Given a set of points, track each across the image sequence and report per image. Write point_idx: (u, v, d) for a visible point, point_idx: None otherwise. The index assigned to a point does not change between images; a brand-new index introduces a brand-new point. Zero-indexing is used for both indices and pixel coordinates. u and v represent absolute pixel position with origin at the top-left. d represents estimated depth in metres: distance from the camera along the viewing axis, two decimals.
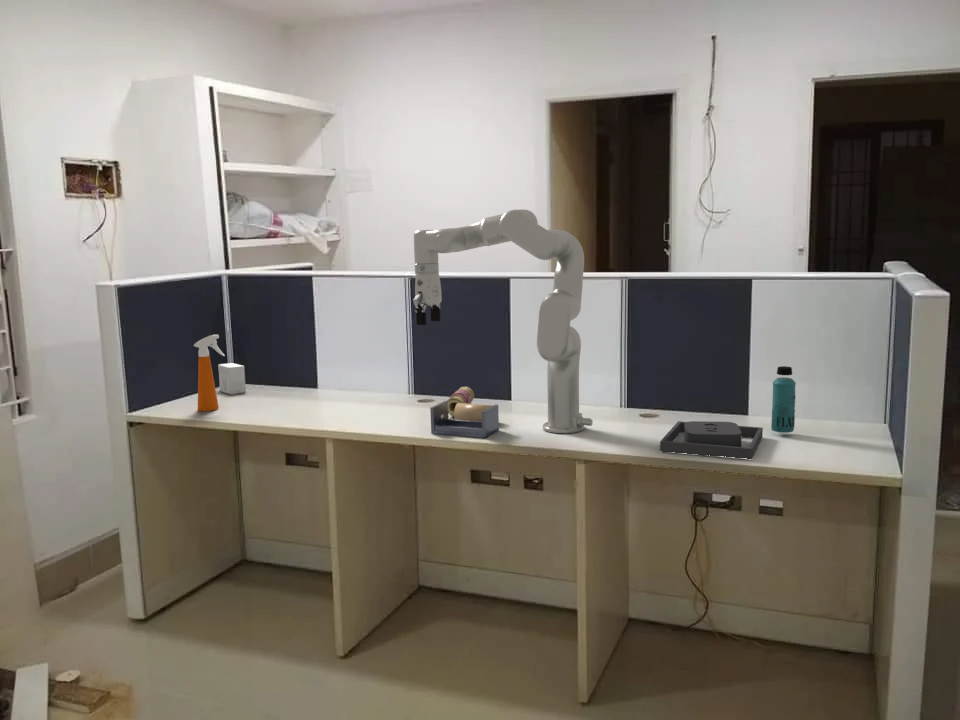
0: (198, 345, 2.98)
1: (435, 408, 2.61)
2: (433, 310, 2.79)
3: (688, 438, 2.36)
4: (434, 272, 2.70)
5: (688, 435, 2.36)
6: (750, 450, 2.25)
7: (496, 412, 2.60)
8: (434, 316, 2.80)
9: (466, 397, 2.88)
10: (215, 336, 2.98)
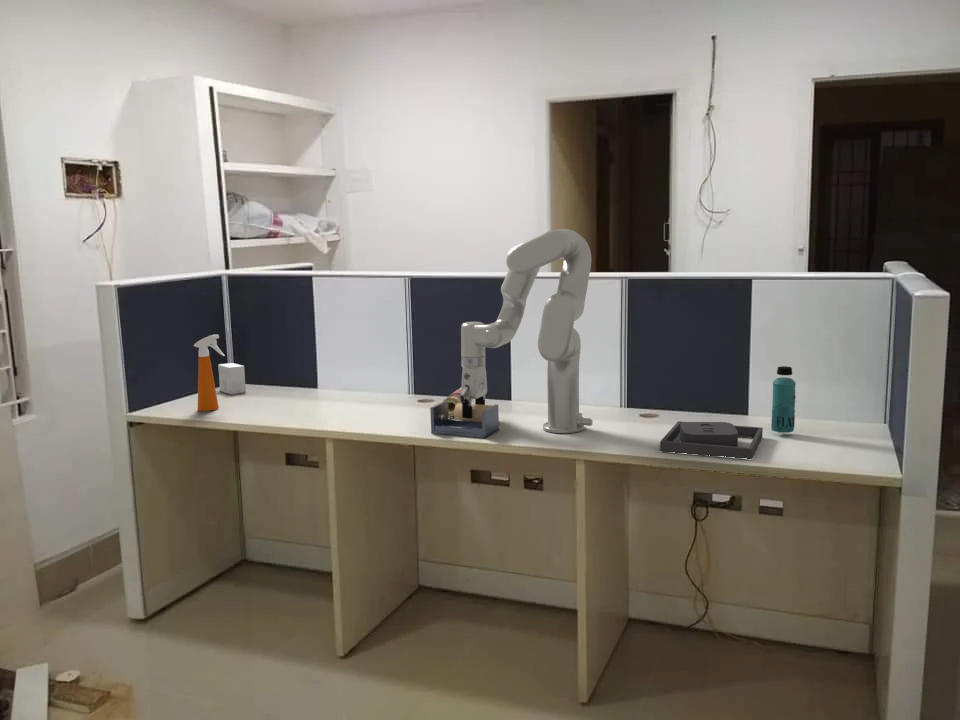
0: (198, 345, 2.98)
1: (435, 408, 2.61)
2: (478, 400, 2.77)
3: (685, 439, 2.36)
4: (481, 365, 2.68)
5: (685, 436, 2.35)
6: (750, 450, 2.25)
7: (496, 412, 2.60)
8: None
9: None
10: (215, 336, 2.98)
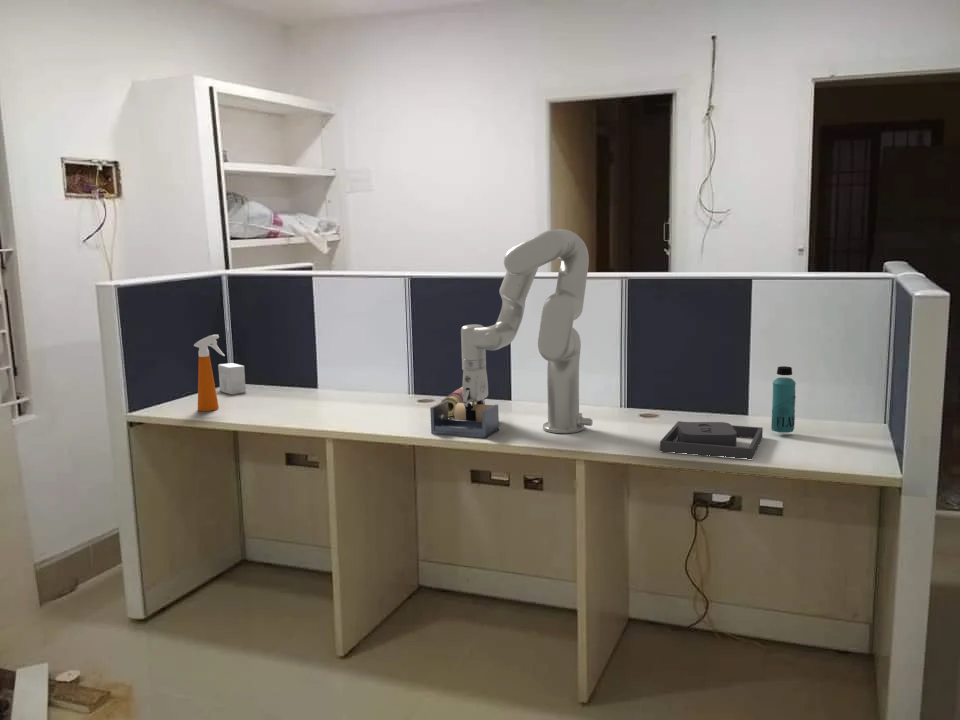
0: (198, 345, 2.98)
1: (435, 408, 2.61)
2: None
3: (684, 439, 2.35)
4: (482, 368, 2.68)
5: (684, 436, 2.35)
6: (750, 450, 2.25)
7: (496, 412, 2.60)
8: None
9: None
10: (215, 336, 2.98)
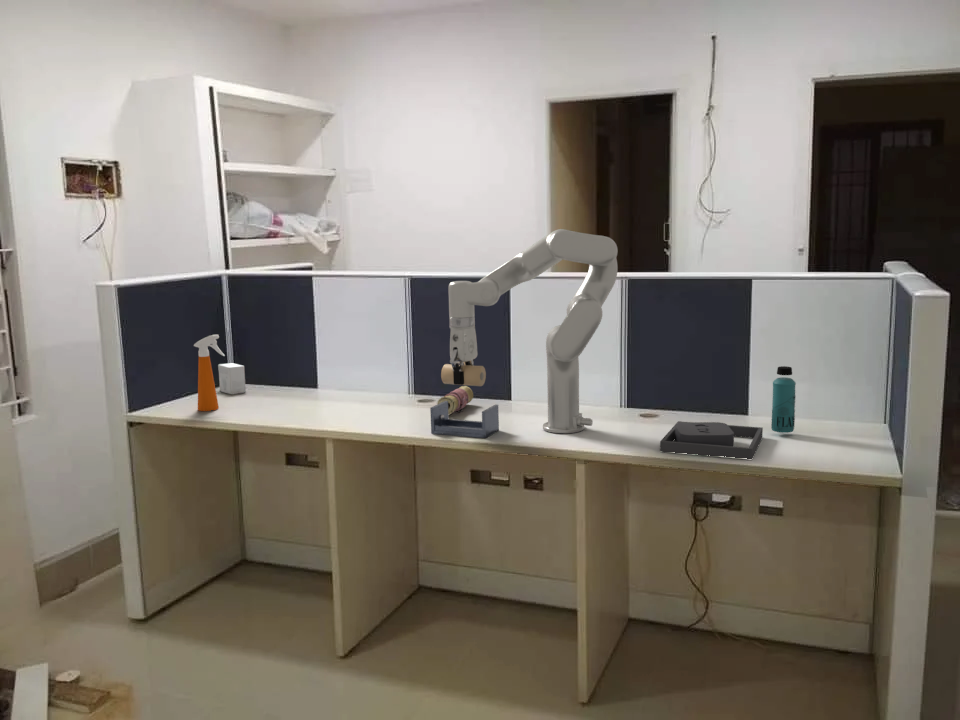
0: (198, 345, 2.98)
1: (435, 408, 2.61)
2: None
3: (681, 439, 2.35)
4: (470, 326, 2.54)
5: (681, 436, 2.35)
6: (750, 450, 2.25)
7: (496, 412, 2.60)
8: None
9: (461, 396, 2.88)
10: (215, 336, 2.98)
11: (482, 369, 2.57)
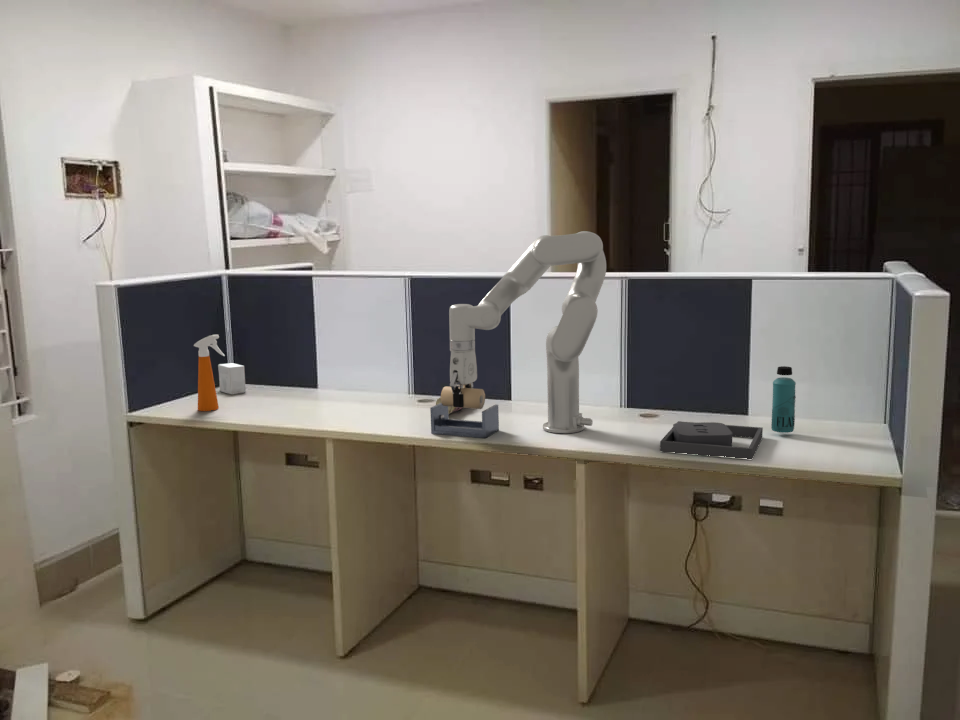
0: (198, 345, 2.98)
1: (435, 408, 2.61)
2: None
3: (680, 440, 2.35)
4: (470, 350, 2.55)
5: (680, 437, 2.34)
6: (750, 450, 2.25)
7: (496, 412, 2.60)
8: None
9: None
10: (215, 336, 2.98)
11: (482, 392, 2.58)
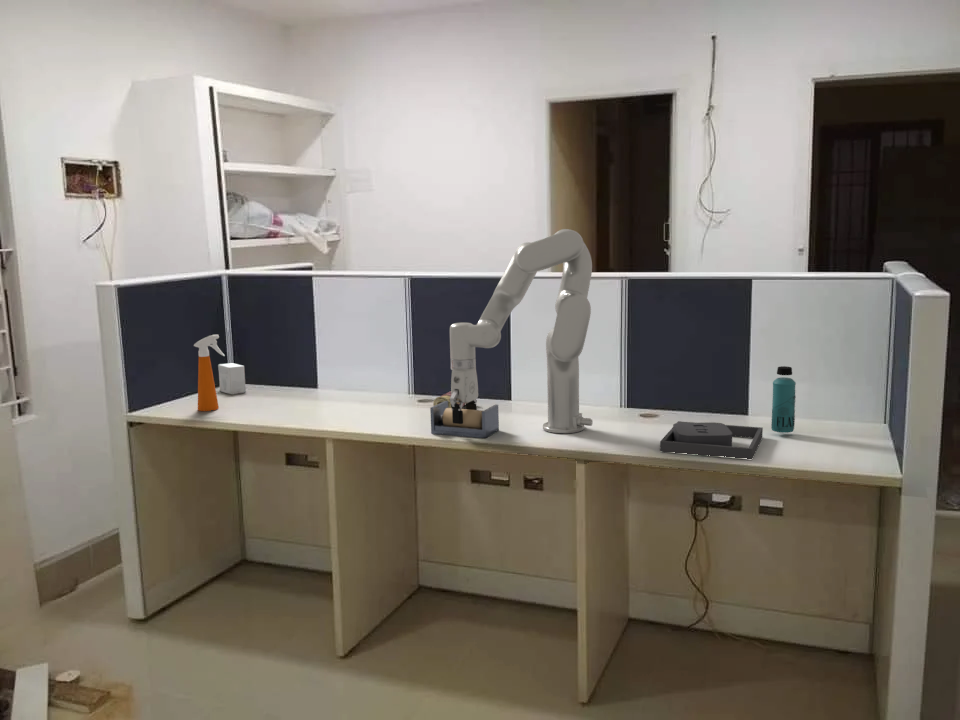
0: (198, 345, 2.98)
1: (435, 408, 2.61)
2: (469, 405, 2.65)
3: (680, 440, 2.35)
4: (471, 368, 2.56)
5: (680, 437, 2.34)
6: (750, 450, 2.25)
7: (496, 412, 2.60)
8: None
9: None
10: (215, 336, 2.98)
11: None
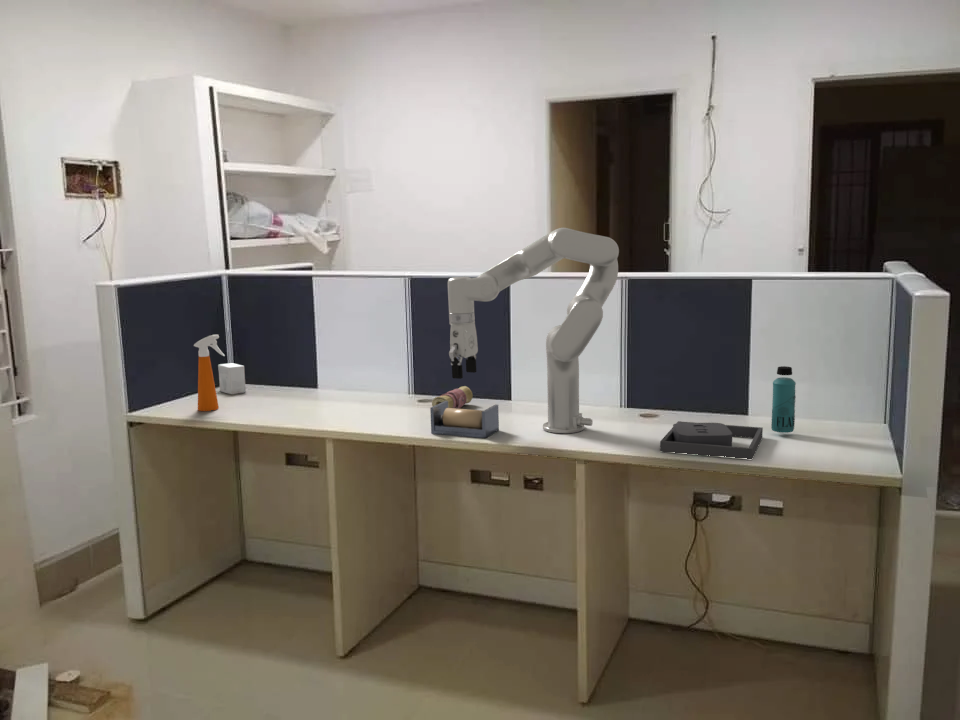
0: (198, 345, 2.98)
1: (435, 408, 2.61)
2: (469, 361, 2.63)
3: (680, 440, 2.34)
4: (470, 322, 2.54)
5: (680, 437, 2.34)
6: (750, 450, 2.25)
7: (496, 412, 2.60)
8: (470, 367, 2.63)
9: (457, 397, 2.88)
10: (215, 336, 2.98)
11: None
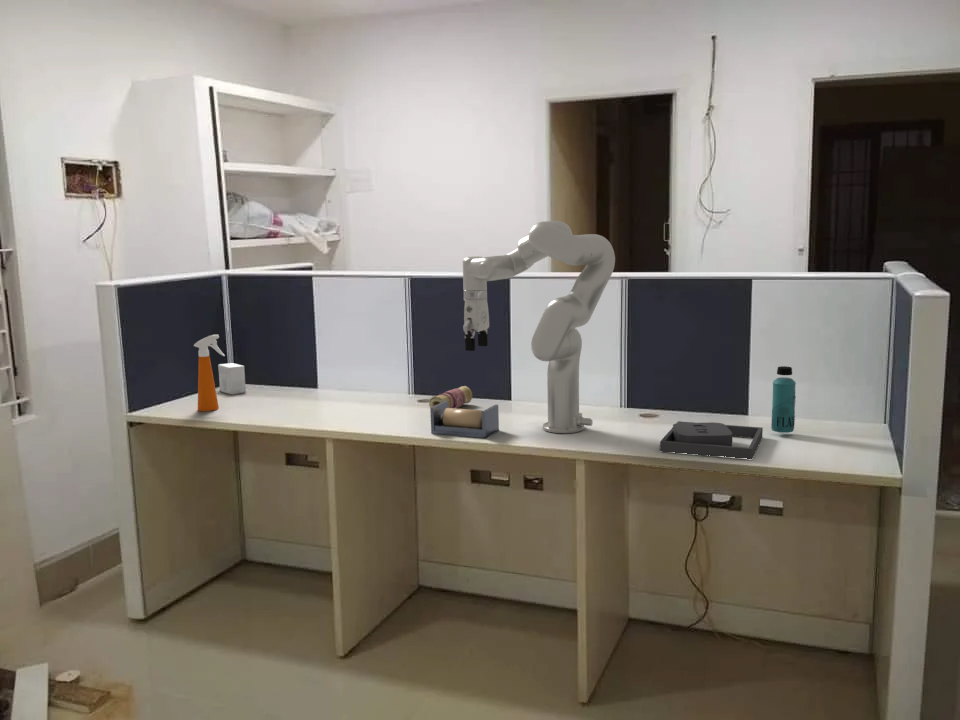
0: (198, 345, 2.98)
1: (435, 408, 2.61)
2: (480, 335, 2.83)
3: (680, 440, 2.34)
4: (483, 298, 2.74)
5: (680, 437, 2.34)
6: (750, 450, 2.25)
7: (496, 412, 2.60)
8: (481, 341, 2.83)
9: (455, 396, 2.89)
10: (215, 336, 2.98)
11: None
